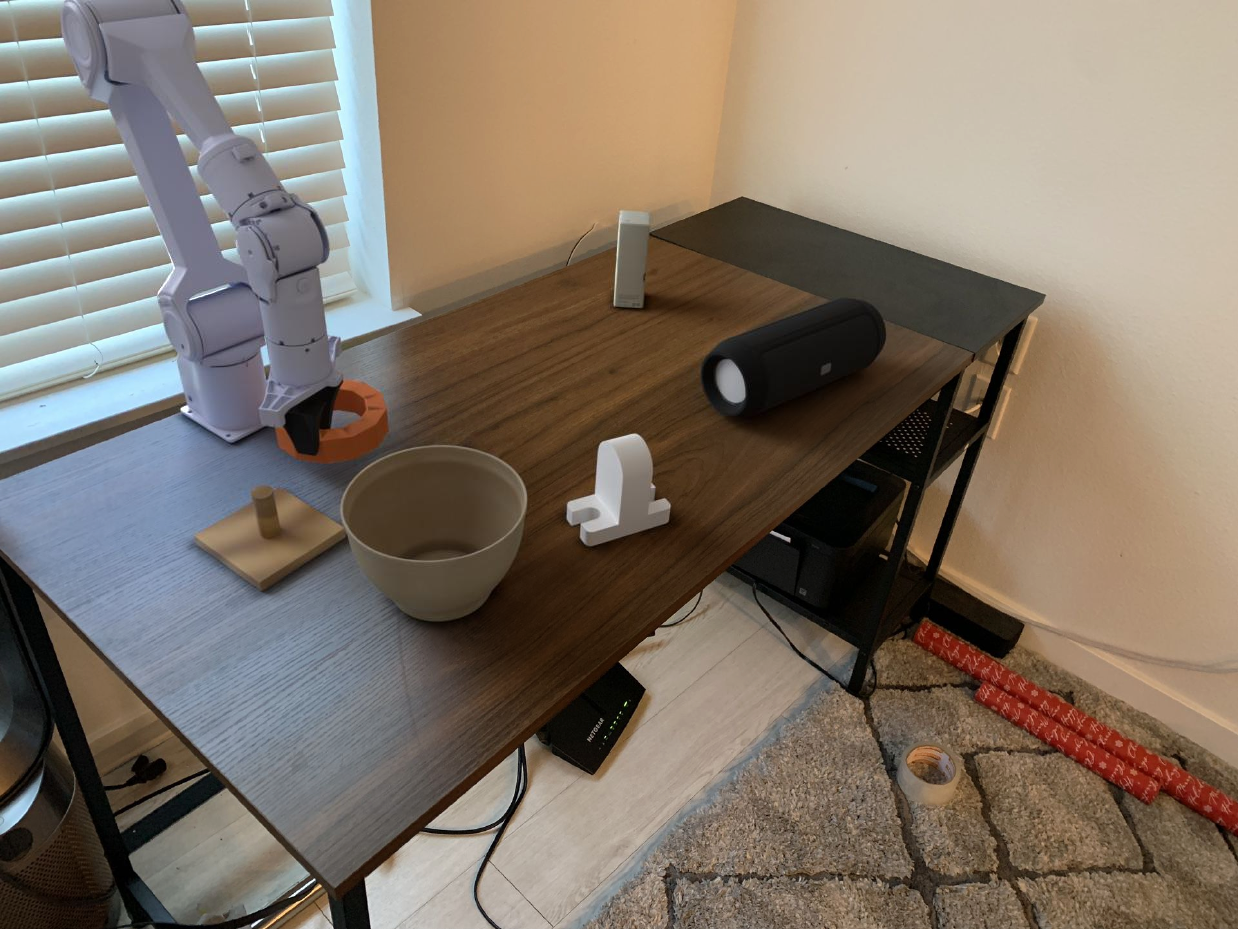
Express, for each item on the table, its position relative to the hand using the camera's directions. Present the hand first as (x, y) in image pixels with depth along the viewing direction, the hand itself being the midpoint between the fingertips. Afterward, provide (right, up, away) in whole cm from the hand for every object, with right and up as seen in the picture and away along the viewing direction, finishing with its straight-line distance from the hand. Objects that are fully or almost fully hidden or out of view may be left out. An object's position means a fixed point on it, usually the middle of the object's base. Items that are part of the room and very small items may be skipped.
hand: (313, 445), depth 99 cm
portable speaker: (+54, +8, +23) cm, 59 cm away
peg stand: (-2, -10, -6) cm, 12 cm away
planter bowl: (+15, -14, -9) cm, 23 cm away
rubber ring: (+1, +2, +5) cm, 5 cm away
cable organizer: (+32, -8, 0) cm, 33 cm away
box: (+33, +22, +40) cm, 56 cm away
